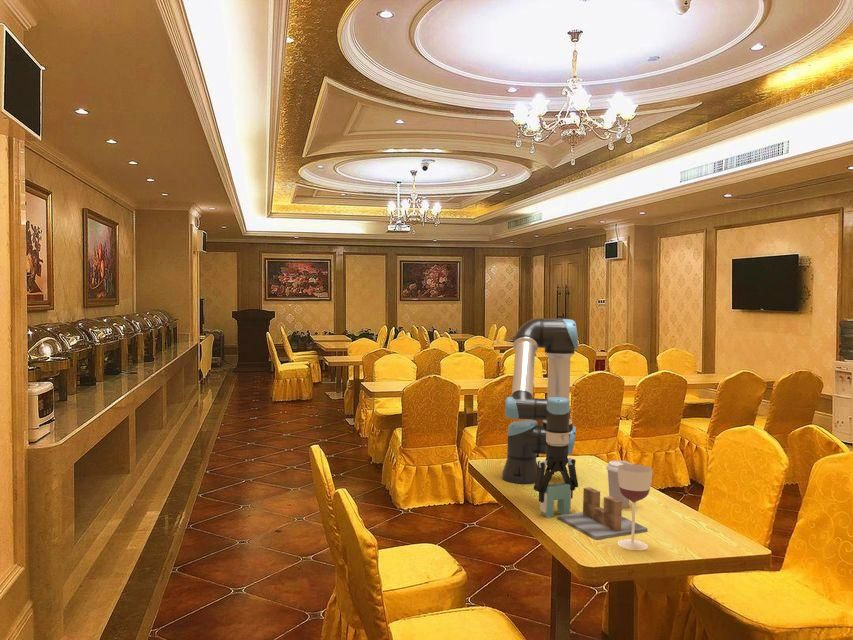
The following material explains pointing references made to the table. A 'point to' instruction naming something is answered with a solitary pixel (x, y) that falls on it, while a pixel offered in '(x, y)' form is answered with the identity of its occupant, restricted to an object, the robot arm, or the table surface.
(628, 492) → the wineglass
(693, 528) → the table surface
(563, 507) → the green arch block
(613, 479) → the coffee cup
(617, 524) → the joint base
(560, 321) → the robot arm
